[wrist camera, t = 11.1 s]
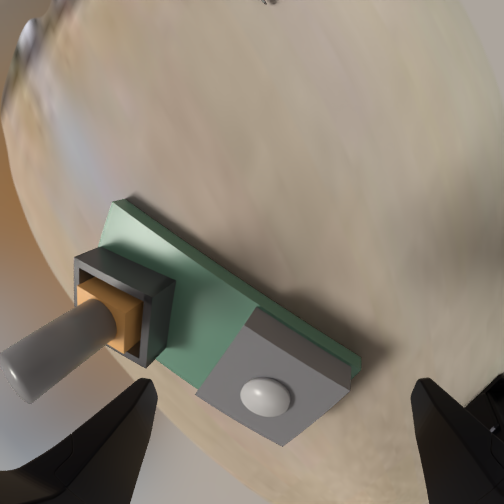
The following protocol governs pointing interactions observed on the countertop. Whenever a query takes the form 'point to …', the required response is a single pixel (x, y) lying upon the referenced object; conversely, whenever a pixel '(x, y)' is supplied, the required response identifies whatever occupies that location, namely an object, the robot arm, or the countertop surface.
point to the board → (199, 296)
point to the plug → (73, 338)
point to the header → (139, 286)
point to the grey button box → (275, 380)
